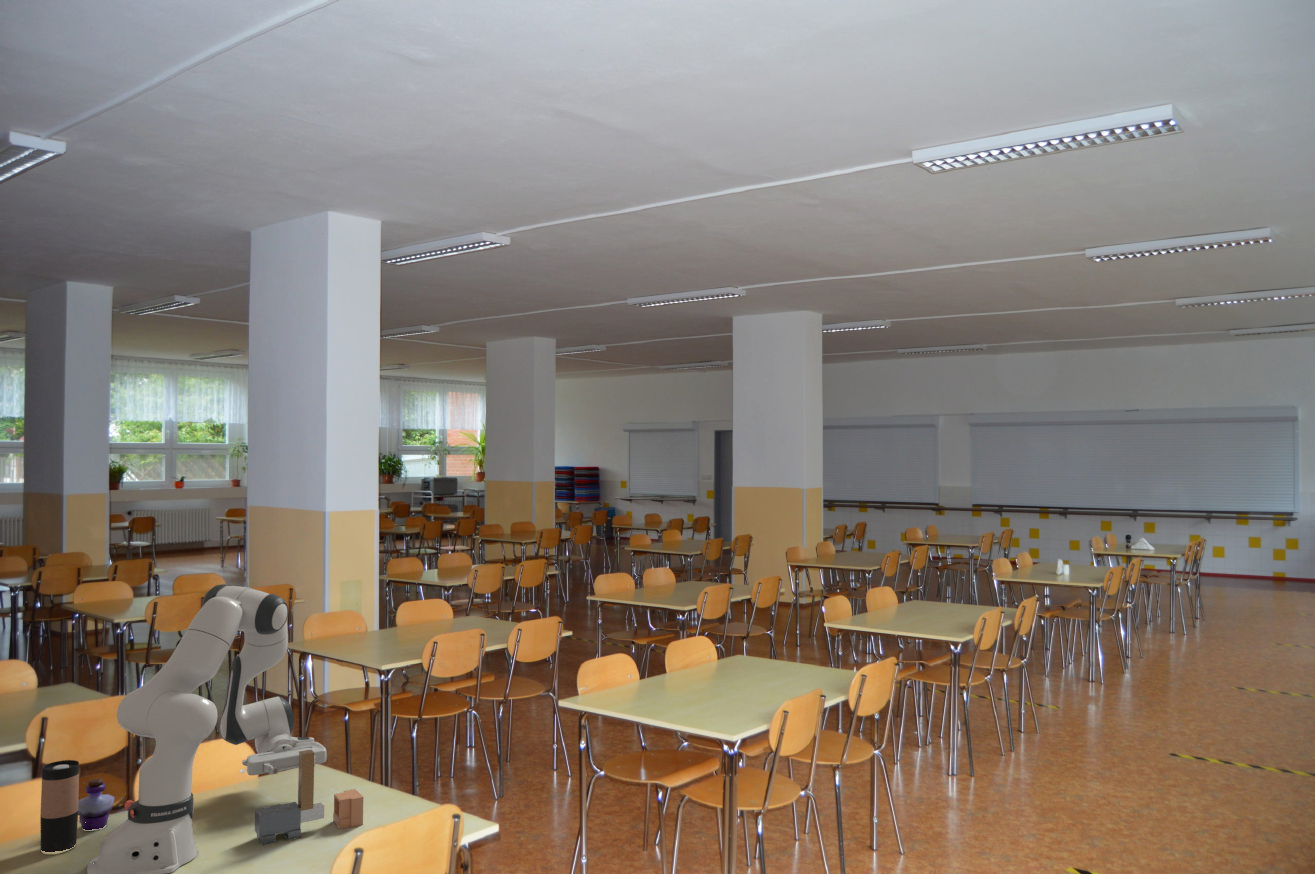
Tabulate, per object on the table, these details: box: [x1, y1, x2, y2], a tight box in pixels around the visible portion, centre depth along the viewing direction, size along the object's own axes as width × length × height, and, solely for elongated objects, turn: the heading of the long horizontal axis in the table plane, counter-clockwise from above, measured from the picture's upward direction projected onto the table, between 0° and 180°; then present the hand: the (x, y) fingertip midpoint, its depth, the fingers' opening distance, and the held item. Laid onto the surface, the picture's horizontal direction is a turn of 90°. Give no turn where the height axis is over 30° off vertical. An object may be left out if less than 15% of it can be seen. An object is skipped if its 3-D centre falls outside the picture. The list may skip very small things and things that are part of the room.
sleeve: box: [254, 801, 302, 847], centre depth 228 cm, size 10×6×7 cm, turn 125°
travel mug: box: [39, 759, 80, 852], centre depth 221 cm, size 8×8×20 cm
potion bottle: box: [78, 778, 116, 830], centre depth 233 cm, size 9×9×12 cm
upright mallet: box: [297, 750, 325, 824], centre depth 231 cm, size 14×3×17 cm, turn 125°
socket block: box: [332, 788, 364, 830], centre depth 238 cm, size 6×7×7 cm
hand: (293, 767), depth 243 cm, fingers open, 8 cm apart
